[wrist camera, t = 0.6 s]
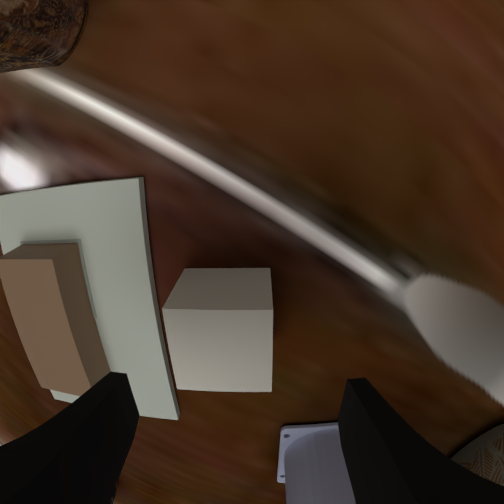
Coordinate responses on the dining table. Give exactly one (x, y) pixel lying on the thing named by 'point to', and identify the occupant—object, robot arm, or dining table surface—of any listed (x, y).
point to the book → (39, 32)
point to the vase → (485, 455)
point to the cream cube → (221, 329)
